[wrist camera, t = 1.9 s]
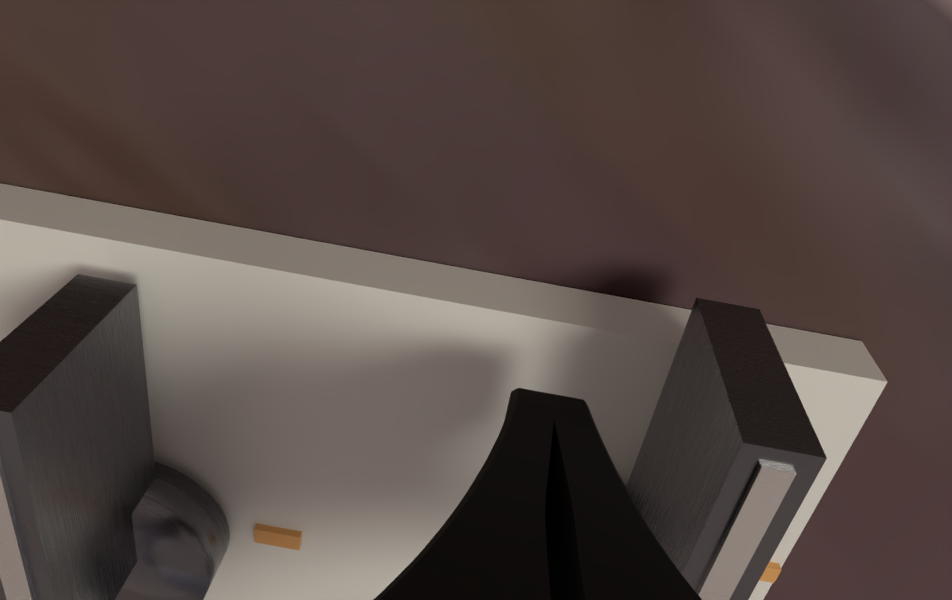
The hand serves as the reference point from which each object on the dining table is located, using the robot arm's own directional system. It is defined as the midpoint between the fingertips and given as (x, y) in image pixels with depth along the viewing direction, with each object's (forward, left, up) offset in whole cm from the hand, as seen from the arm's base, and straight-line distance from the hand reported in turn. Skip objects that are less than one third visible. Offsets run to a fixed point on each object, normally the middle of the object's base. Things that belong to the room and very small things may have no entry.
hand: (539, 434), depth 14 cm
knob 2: (-4, +9, -2) cm, 10 cm away
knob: (-2, -3, -2) cm, 4 cm away
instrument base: (-6, +3, -4) cm, 8 cm away
